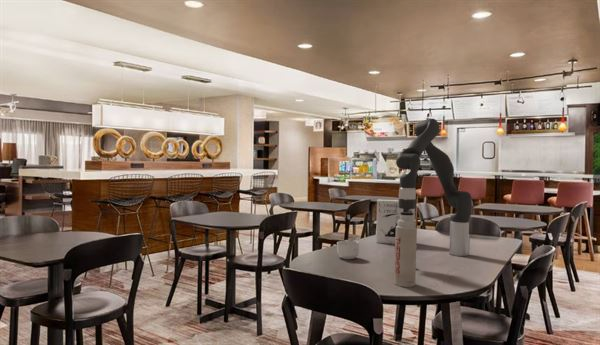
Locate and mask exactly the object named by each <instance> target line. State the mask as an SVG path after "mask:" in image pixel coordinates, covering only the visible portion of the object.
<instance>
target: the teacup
mask: <svg viewBox="0 0 600 345" xmlns="http://www.w3.org/2000/svg"><path fill="white" fill-rule="evenodd" d="M359 243H360V242H359V241H357V240H349V239H345V240H340V241H337V242H336V251H337V255H338V256H339V257H340V258H341V259H343V260H353V259H355V258H356V257H358V255H359V253H360V250H359V248H360V244H359Z"/></svg>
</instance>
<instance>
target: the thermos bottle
mask: <svg viewBox="0 0 600 345" xmlns="http://www.w3.org/2000/svg"><path fill="white" fill-rule="evenodd" d="M400 214H401V216H400V220H398V222H397V223H398V226H396V240H395V244H394V246H395V248H394V249H395V250H394V252H395V254H394V255H395V256H394V274H393V275H394V278H393V281H394V282H393V283H394V285H396V286H398V287H403V288H404V287H405V288H411V287H414V286H416V275H417V274H416V273H417V272H416V270H417V269H416V265H417V262H416V261H417V242H418V241H417V240H418V238H417V236H418V235H417V234H418V228H417V226H416V225H417V224H416V220H415V221H414V220H413V213H411V212H401V213H400Z"/></svg>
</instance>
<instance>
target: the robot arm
mask: <svg viewBox="0 0 600 345" xmlns="http://www.w3.org/2000/svg"><path fill="white" fill-rule="evenodd" d="M413 129H414V130H413V131H414V133H415V136H416V137H415V138H414V139H413V140H412V141H411V142H410V143H409V145H408V146H407V148H405V149H404V150H402V151H401V152H399V154H398V155H397V157H396V160H395V164H396V167H397V168H399V169H400V170H410V171H409V173H405V174H401V175H400V176H399V190H398V200H399V205H398V207H399V208H401V209H403V212H411V213H412V210H410V209H415V210H416V203H417V201H416V200H417V199H416V198H417V196H416V195H417V191H416V190H417V189H416V188H417V187H416V184H417V182H416V181H417V176H418V172H419V168H420V165H421V161H422V160H421V156H422V154H423V153H424V151H425V153H426V155H427V157H428V159H429V161H430V163H431V166H432V168H433V170H434V173H435V175H436V176H437V178H438V180H439V182H440V185H441V187H442V189H443V192H444V195H445V198H446V201H447V203H448V205H449V206H450V207H451V208H455V209H456V212H455V213H454V214H452V215H450V218H449V219H450V220H449V248H448V250H449V251H448V252H449V255H452V256H456V257H457V256H458V257H466V256H469V255H470V252H471V251H470V250H471V249H470V248H471V246H470V245H471V237H470V236H469V233H470V232H469V231H470V230H469V229H470V227H469V226H470V218H471V216H472V205H473V199H472V198H473V197H472V195H471V193H470V192H468V191H464V190H458V189H457V187H456V185H455V181H454V175H455V168H454V165H453V162H452V161H451V160H452V159H451V158H450V156H449V155H448V154H447V153H446V152H444V151H443V150H442V149H441V148H438V147H437V146H436V145H434V143H433V142H432V141H433V140H434V139H435V138H436V137H437V136H438V135H439V133H440V130H441V129H440V124H439V122H438V121H437V120H436V119H435V118H428V119H425V120H421V121H419V122H416V123H415V124H414V127H413Z"/></svg>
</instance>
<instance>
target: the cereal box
mask: <svg viewBox="0 0 600 345" xmlns="http://www.w3.org/2000/svg"><path fill="white" fill-rule="evenodd" d="M398 205H399V199H376V234H375V235H376V236H375V243H376V242H378V243H377V244H390V243H392V245H395V240H396V226H397V222H398V220H400V216H401V214H400V213H401V212H403V209H401V208H399V207H398ZM410 210H412V213H413V220H414V221H415V222H416V220H415V219H416V208H415V209H410Z"/></svg>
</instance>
